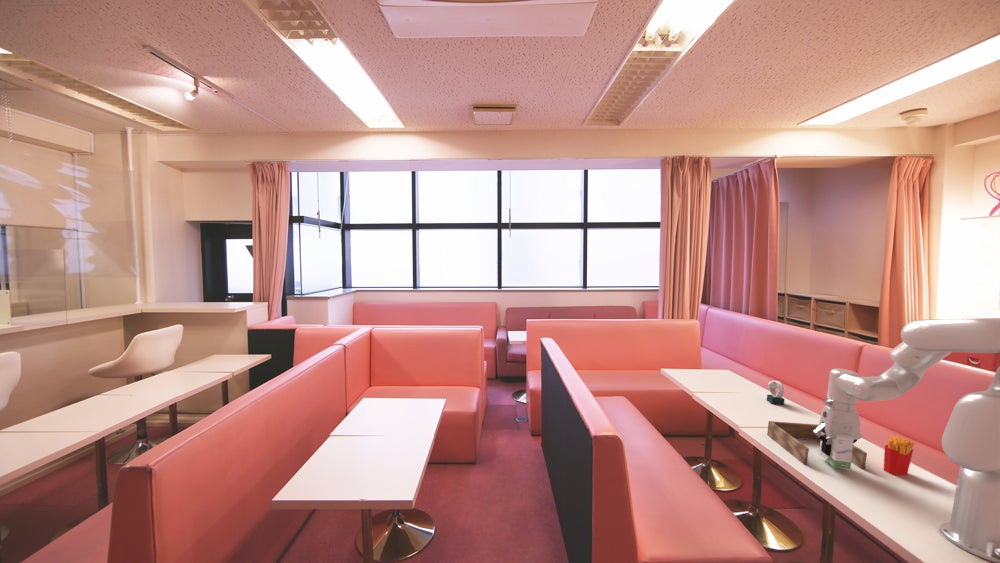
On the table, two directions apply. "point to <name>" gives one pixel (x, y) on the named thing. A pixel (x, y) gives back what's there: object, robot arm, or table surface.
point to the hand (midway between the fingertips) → (835, 453)
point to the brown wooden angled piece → (789, 431)
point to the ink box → (839, 451)
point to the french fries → (898, 455)
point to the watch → (775, 397)
